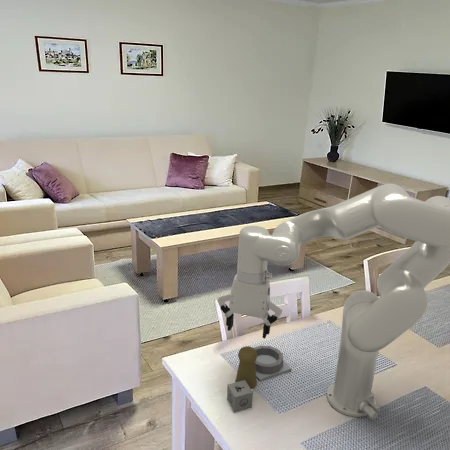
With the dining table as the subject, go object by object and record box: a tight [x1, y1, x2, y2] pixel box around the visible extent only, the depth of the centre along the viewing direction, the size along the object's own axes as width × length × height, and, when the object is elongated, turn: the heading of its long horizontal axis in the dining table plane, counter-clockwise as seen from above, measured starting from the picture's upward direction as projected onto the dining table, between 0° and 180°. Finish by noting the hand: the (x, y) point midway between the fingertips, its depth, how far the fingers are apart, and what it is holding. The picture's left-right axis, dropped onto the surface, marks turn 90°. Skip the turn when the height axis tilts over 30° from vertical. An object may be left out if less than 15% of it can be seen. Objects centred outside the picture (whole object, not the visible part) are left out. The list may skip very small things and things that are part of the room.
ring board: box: [253, 345, 293, 383], centre depth 126 cm, size 11×11×4 cm
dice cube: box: [226, 380, 254, 413], centre depth 111 cm, size 5×5×5 cm
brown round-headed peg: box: [234, 345, 258, 391], centre depth 118 cm, size 6×6×11 cm
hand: (247, 331), depth 114 cm, fingers open, 9 cm apart
